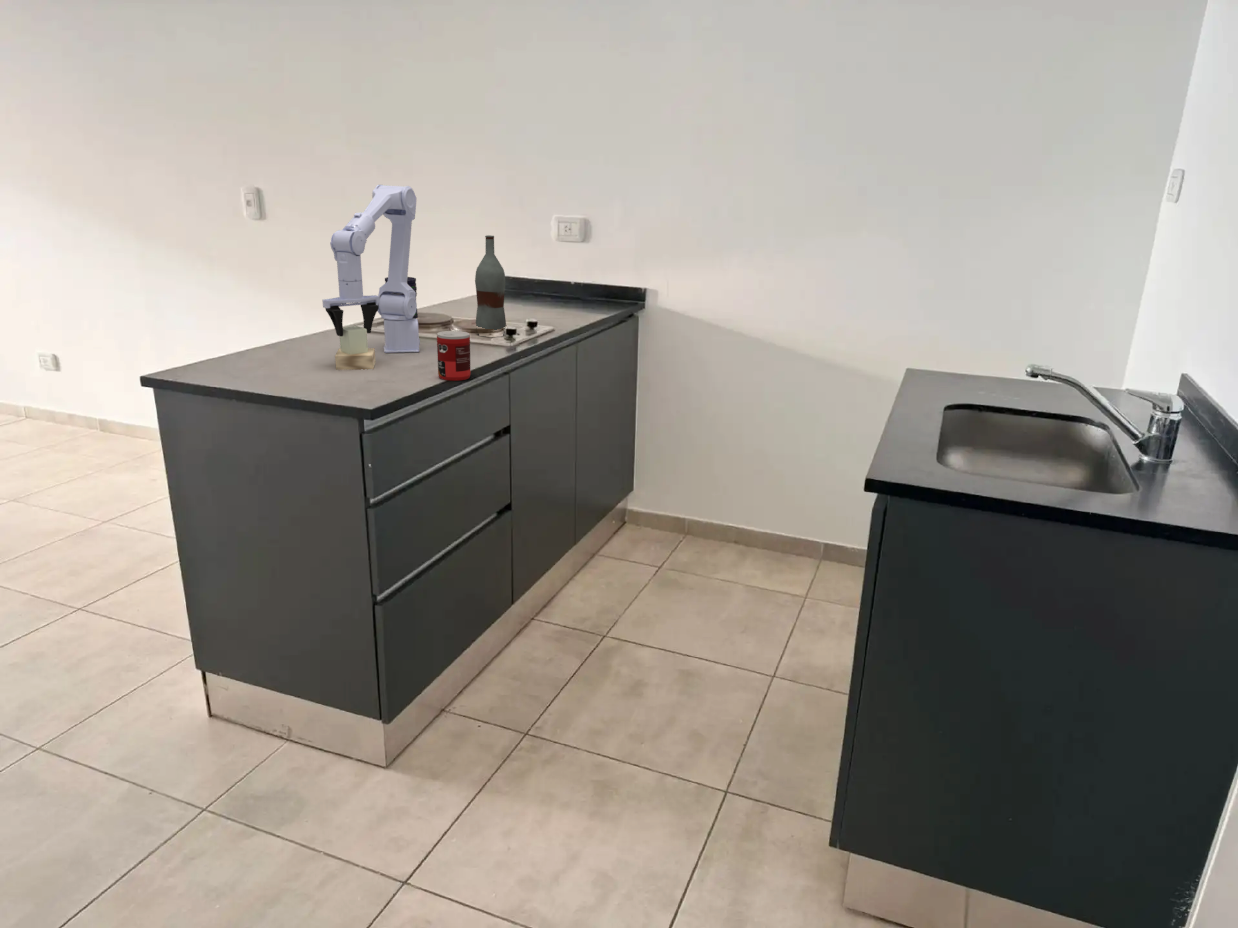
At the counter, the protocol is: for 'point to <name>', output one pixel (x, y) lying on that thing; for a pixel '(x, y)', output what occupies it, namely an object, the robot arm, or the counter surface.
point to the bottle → (490, 290)
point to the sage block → (354, 340)
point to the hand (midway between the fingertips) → (353, 334)
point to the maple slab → (355, 360)
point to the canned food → (453, 355)
